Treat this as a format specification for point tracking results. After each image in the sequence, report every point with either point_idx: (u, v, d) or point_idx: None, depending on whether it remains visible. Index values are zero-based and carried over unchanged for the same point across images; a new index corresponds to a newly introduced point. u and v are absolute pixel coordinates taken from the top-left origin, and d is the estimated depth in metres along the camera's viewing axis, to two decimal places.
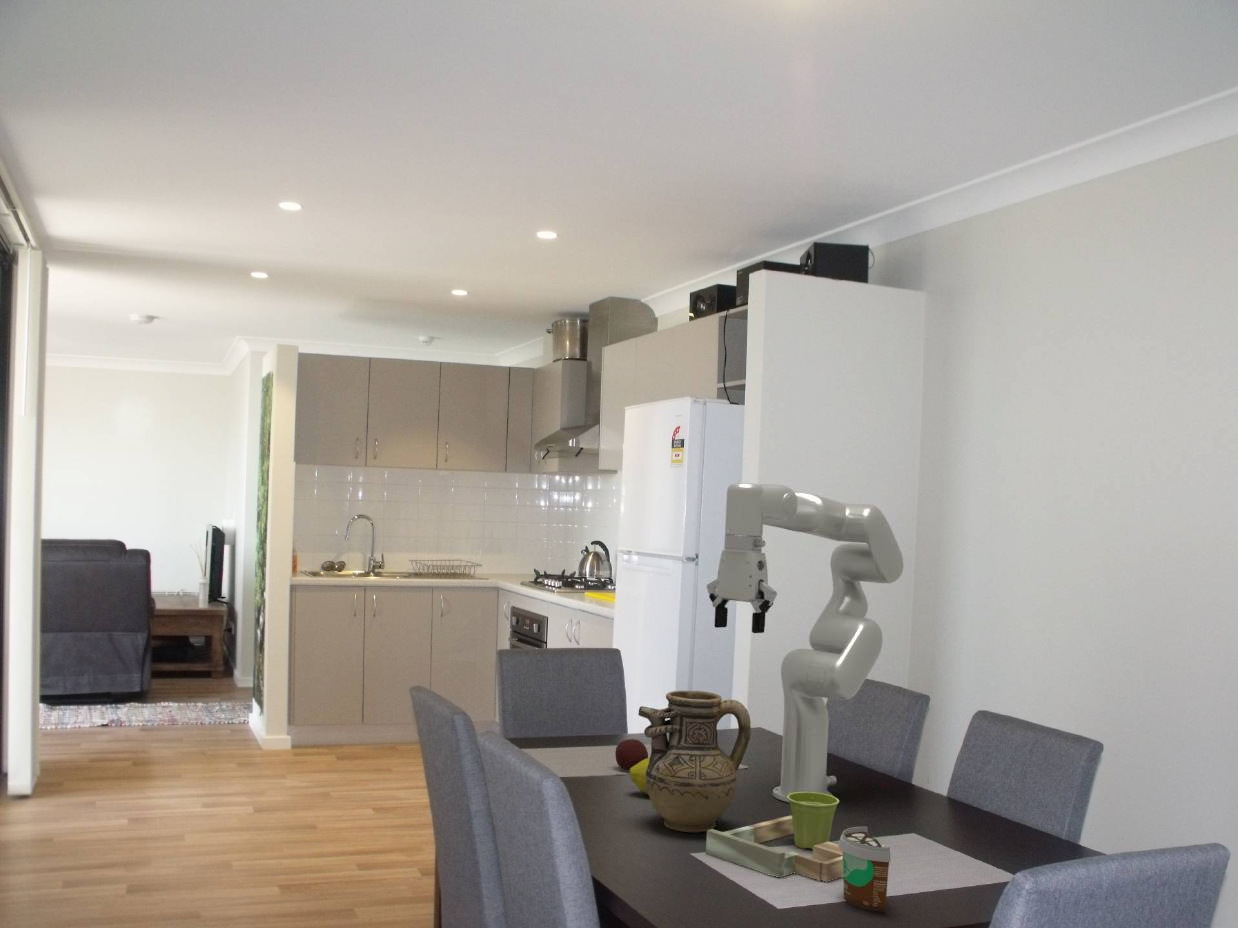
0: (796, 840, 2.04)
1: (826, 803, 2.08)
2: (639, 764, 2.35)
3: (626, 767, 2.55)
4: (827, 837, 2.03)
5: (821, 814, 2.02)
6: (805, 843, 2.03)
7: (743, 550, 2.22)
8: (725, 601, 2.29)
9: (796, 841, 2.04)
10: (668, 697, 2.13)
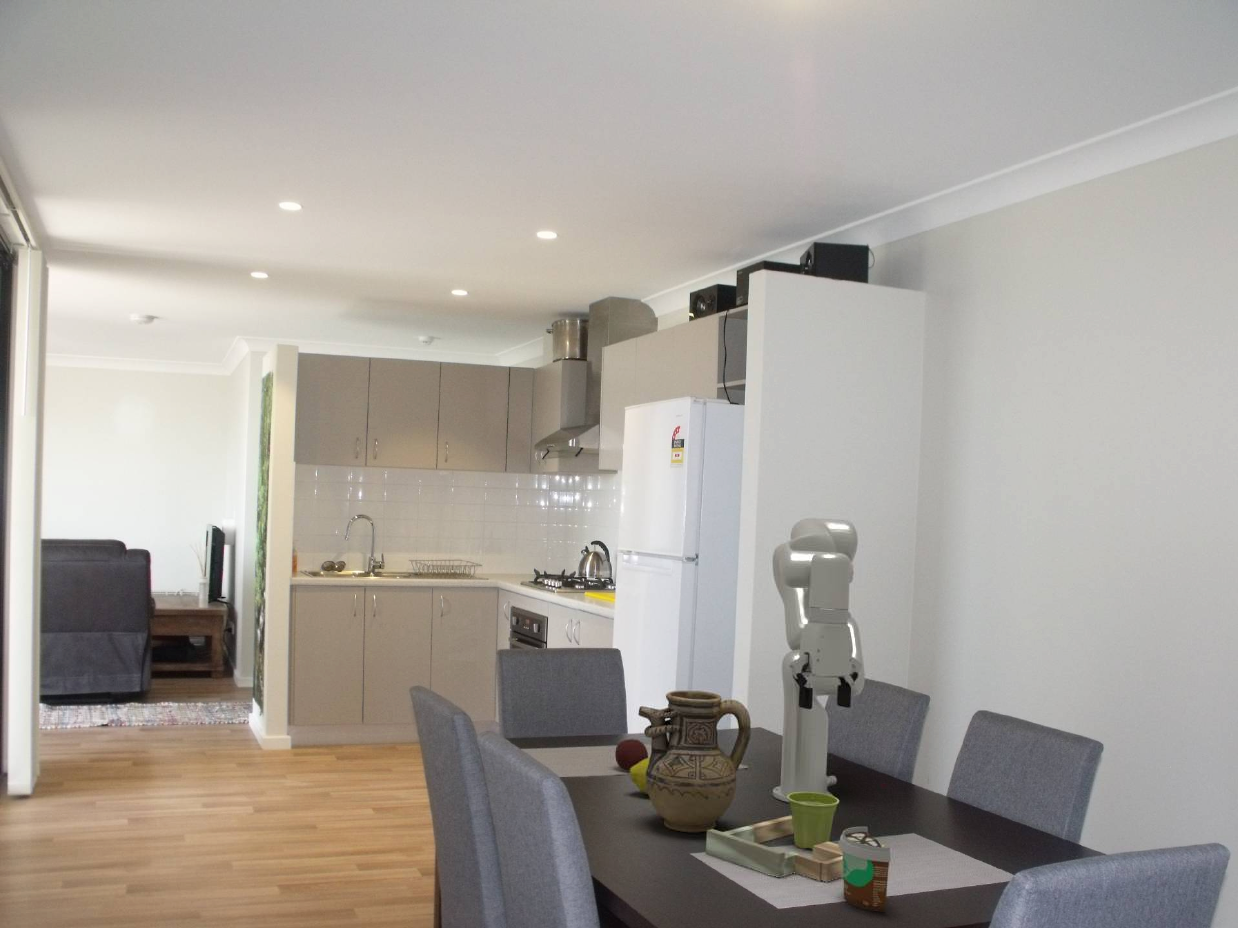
0: (796, 840, 2.04)
1: (826, 803, 2.08)
2: (639, 764, 2.35)
3: (626, 767, 2.55)
4: (827, 837, 2.03)
5: (821, 814, 2.02)
6: (805, 843, 2.03)
7: (847, 624, 2.15)
8: None
9: (796, 841, 2.04)
10: (668, 697, 2.13)
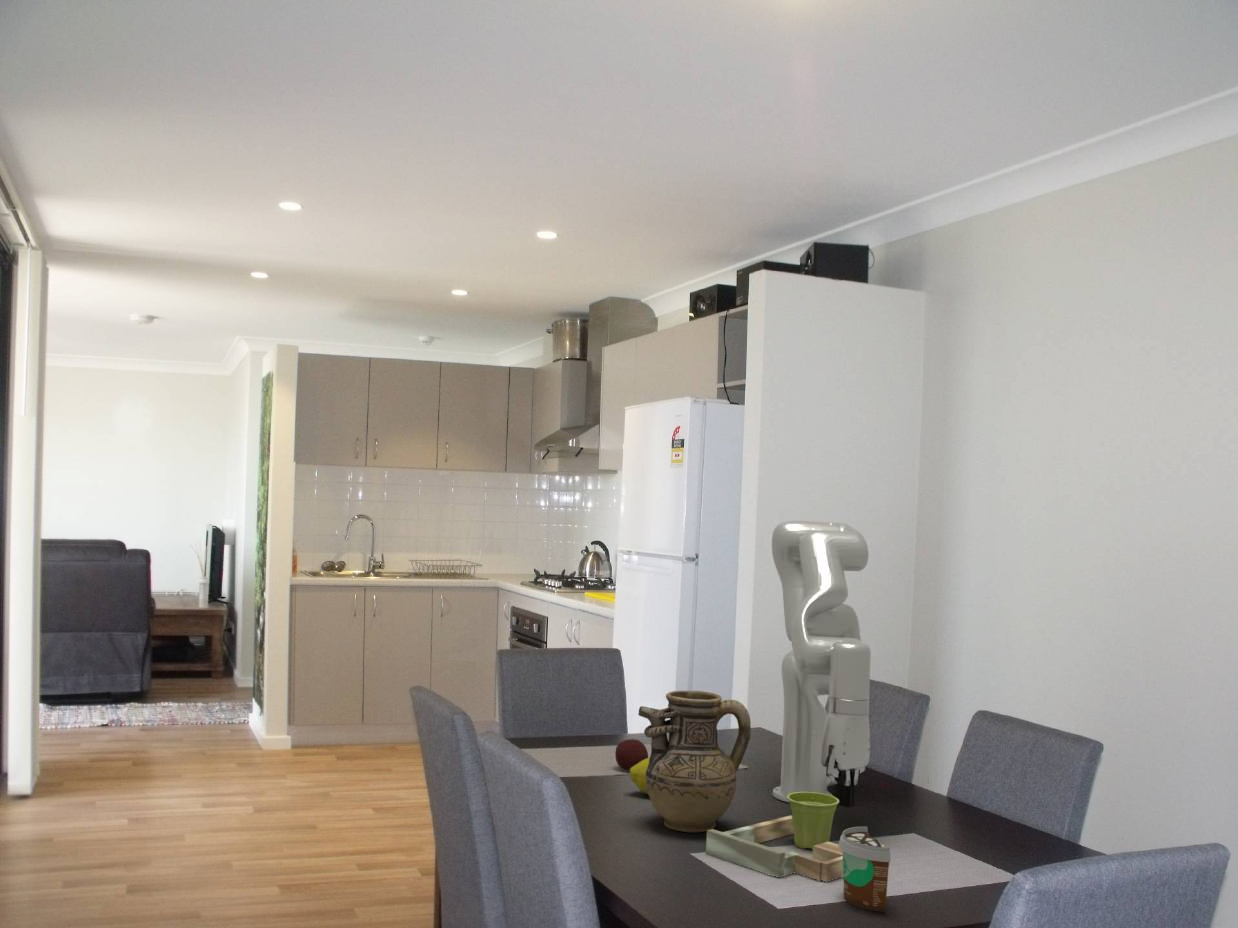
0: (796, 840, 2.04)
1: (826, 803, 2.08)
2: (639, 764, 2.35)
3: (626, 767, 2.55)
4: (827, 837, 2.03)
5: (821, 814, 2.02)
6: (805, 843, 2.03)
7: None
8: None
9: (796, 841, 2.04)
10: (668, 697, 2.13)
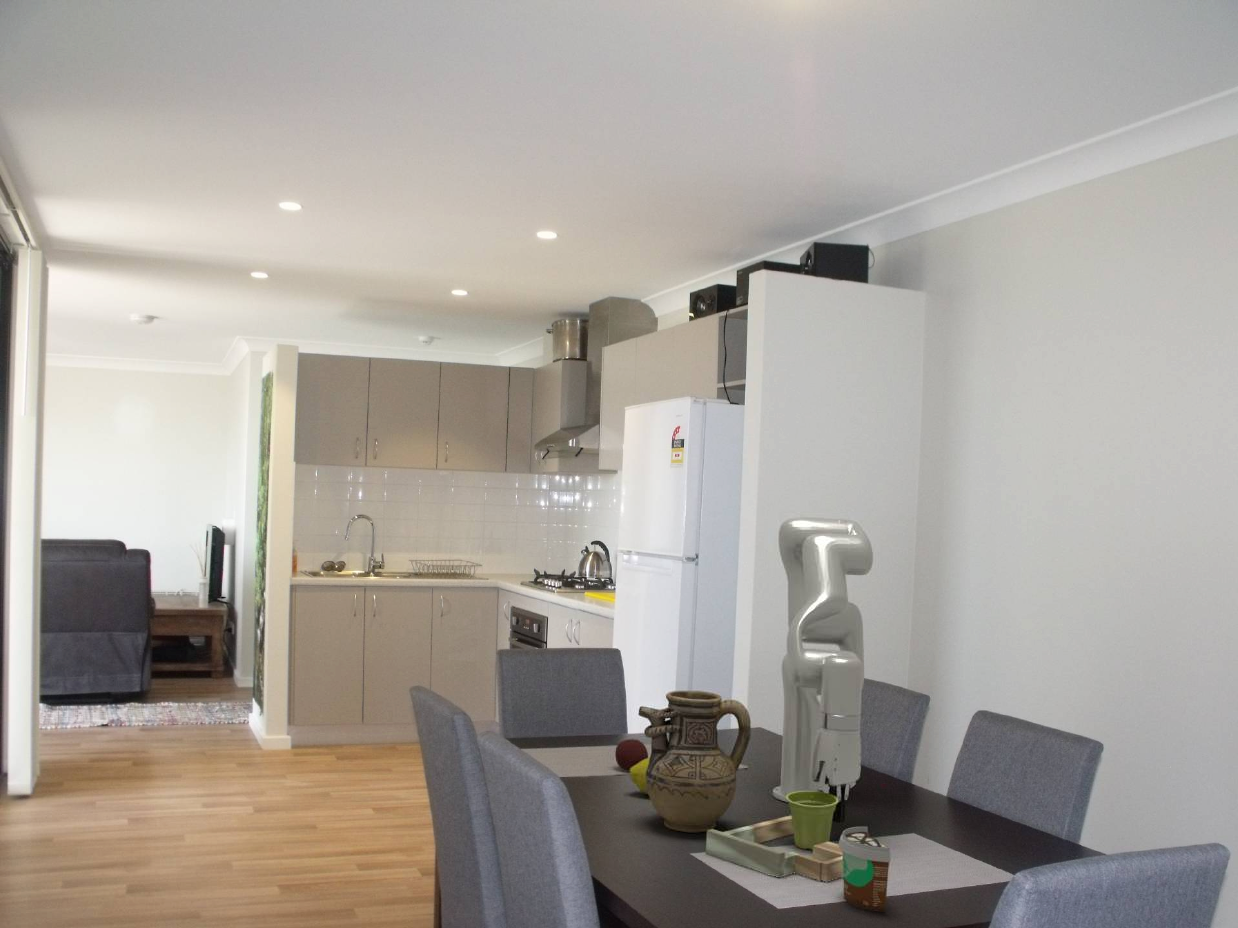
0: (796, 840, 2.04)
1: (826, 802, 2.08)
2: (639, 764, 2.35)
3: (626, 767, 2.55)
4: (827, 837, 2.03)
5: (820, 815, 2.01)
6: (805, 844, 2.03)
7: None
8: None
9: (796, 841, 2.04)
10: (668, 697, 2.13)
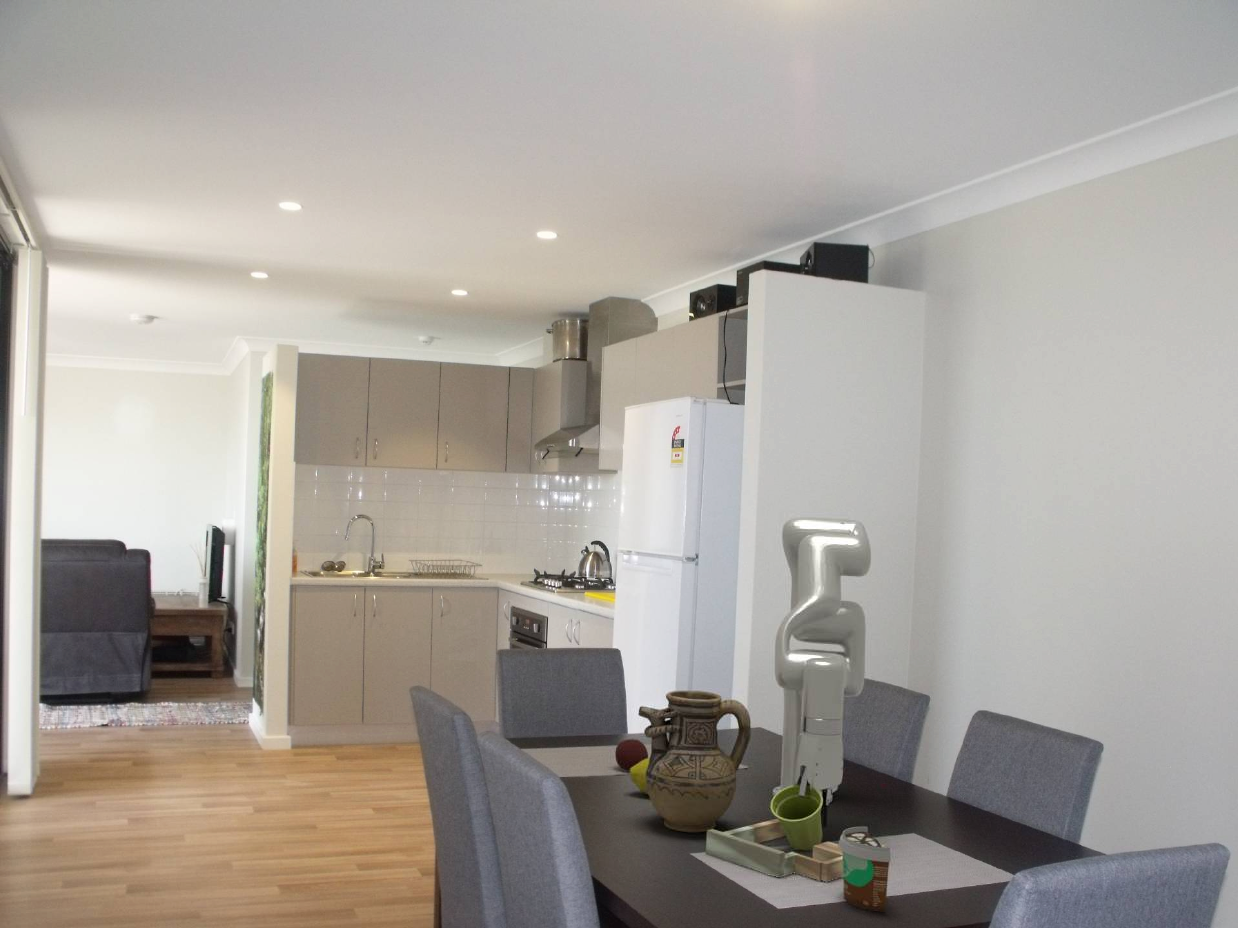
0: (789, 842, 2.03)
1: (812, 795, 2.04)
2: (639, 764, 2.35)
3: (626, 767, 2.55)
4: (819, 834, 2.01)
5: (807, 824, 1.98)
6: (799, 846, 2.01)
7: None
8: None
9: (790, 842, 2.03)
10: (668, 697, 2.13)
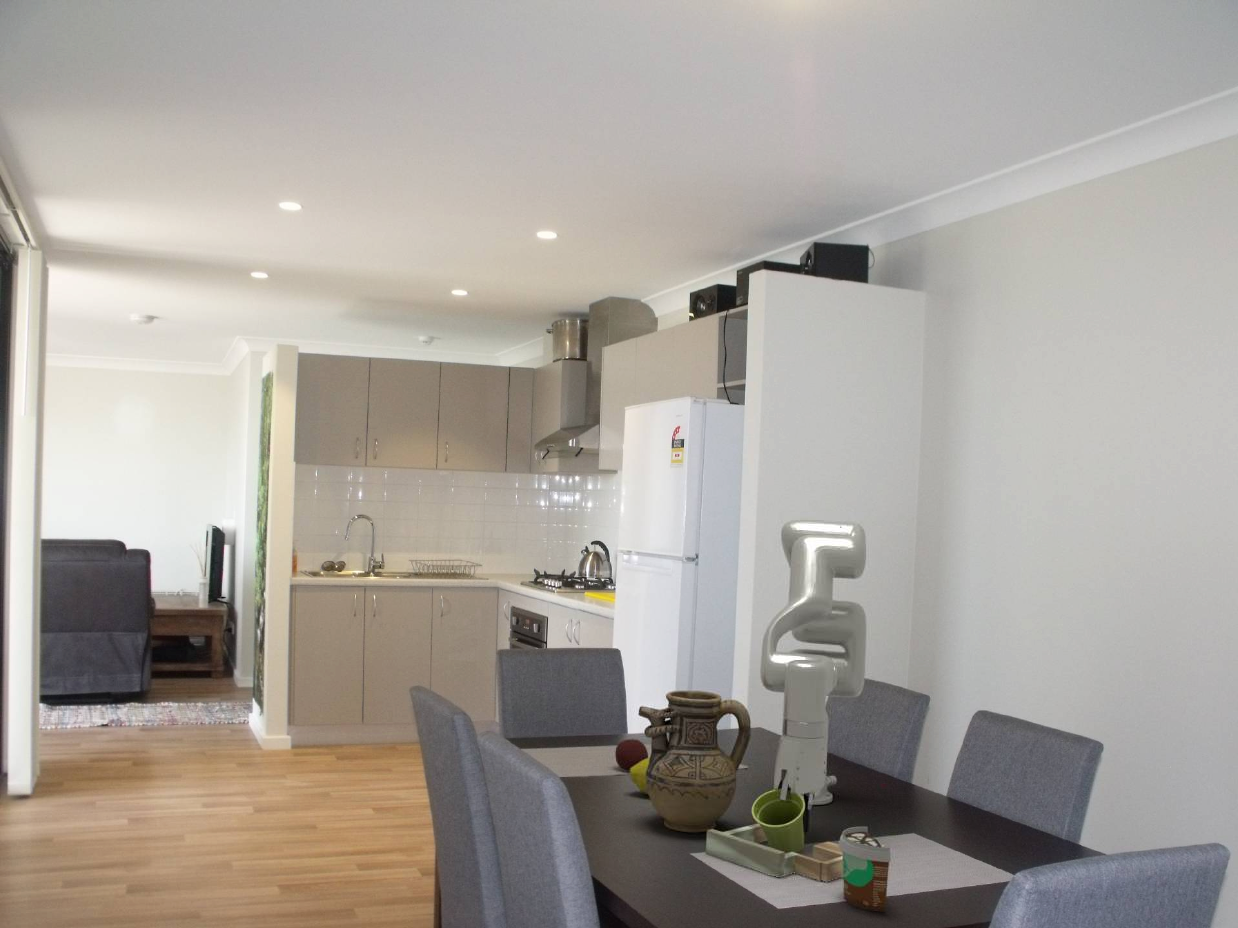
0: (771, 847, 1.99)
1: (793, 799, 2.00)
2: (639, 764, 2.35)
3: (626, 767, 2.55)
4: (801, 839, 1.97)
5: (789, 829, 1.94)
6: None
7: None
8: None
9: None
10: (668, 697, 2.13)
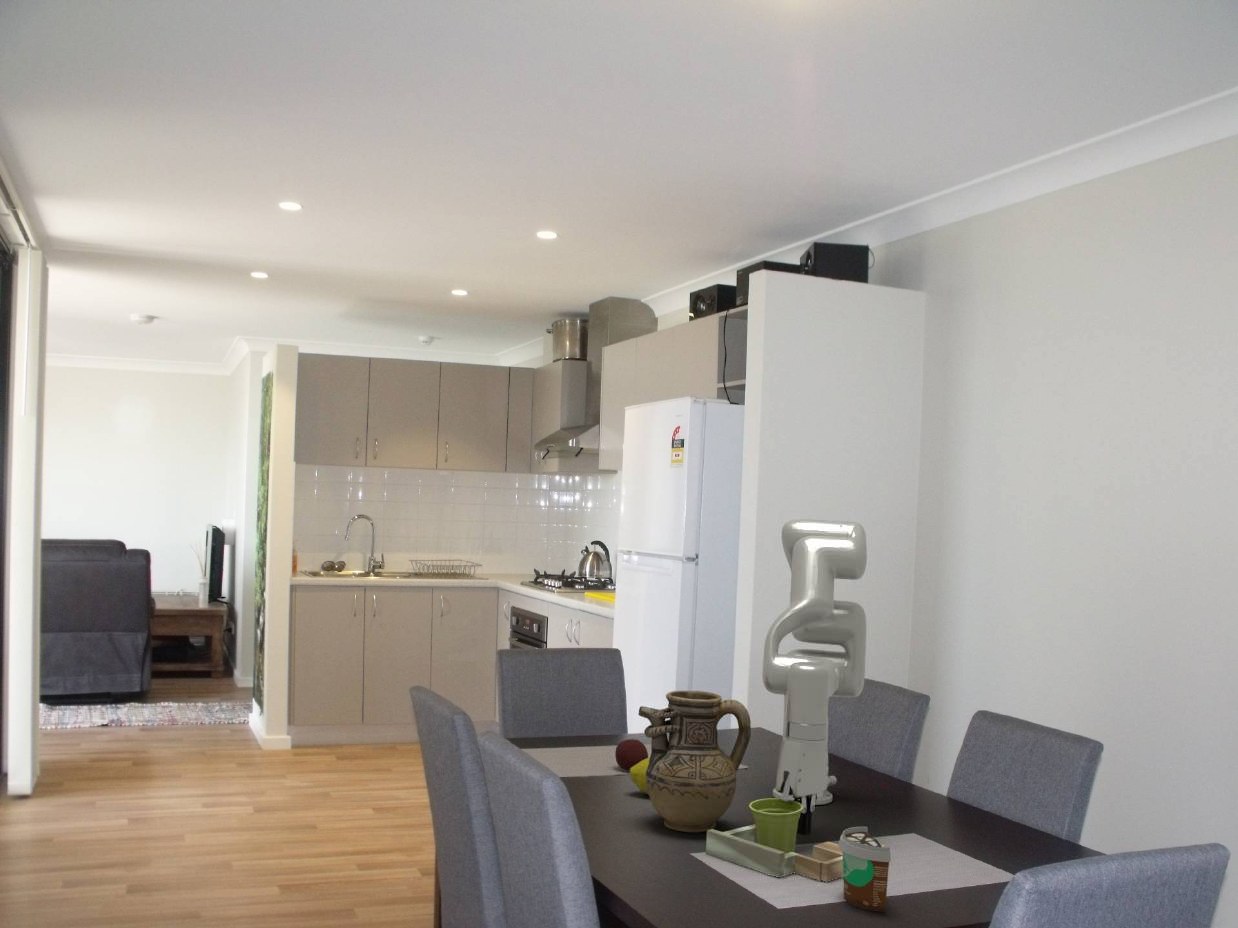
0: None
1: (788, 809, 2.01)
2: (639, 764, 2.35)
3: (626, 767, 2.55)
4: (793, 845, 1.96)
5: (787, 822, 1.94)
6: None
7: None
8: None
9: None
10: (668, 697, 2.13)
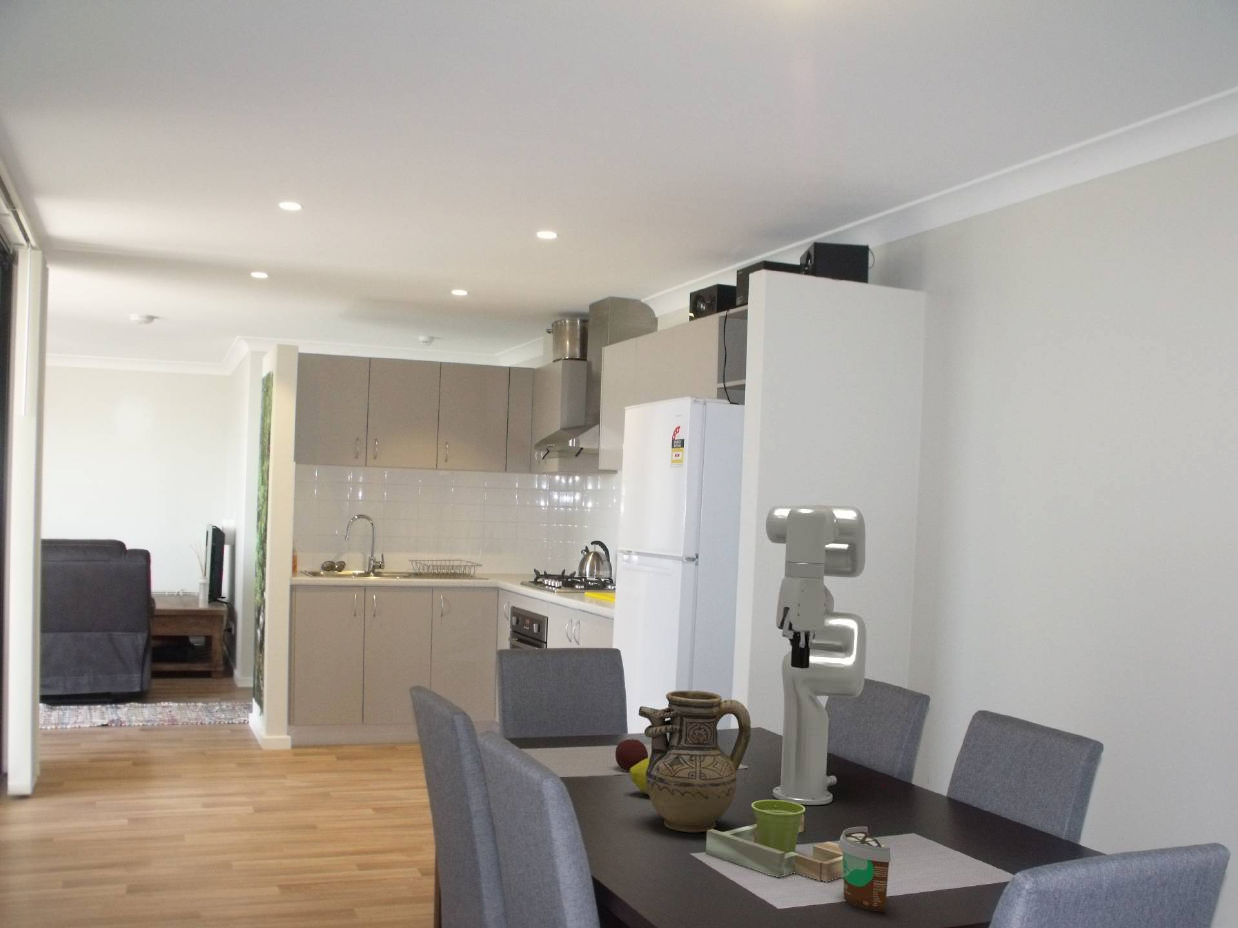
0: None
1: (790, 811, 2.01)
2: (639, 764, 2.35)
3: (626, 767, 2.55)
4: (794, 847, 1.96)
5: (789, 823, 1.95)
6: None
7: None
8: None
9: None
10: (668, 697, 2.13)
